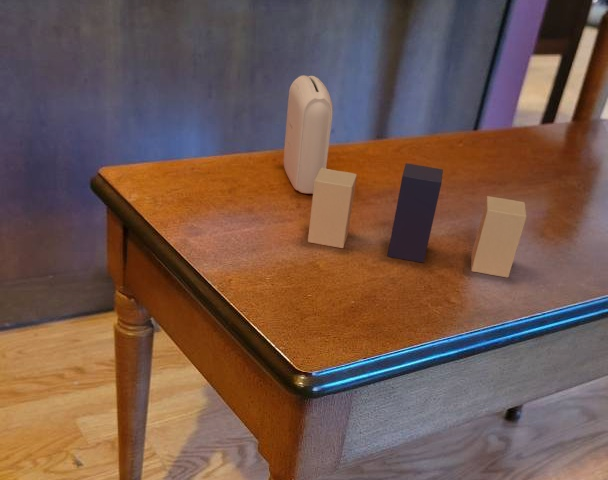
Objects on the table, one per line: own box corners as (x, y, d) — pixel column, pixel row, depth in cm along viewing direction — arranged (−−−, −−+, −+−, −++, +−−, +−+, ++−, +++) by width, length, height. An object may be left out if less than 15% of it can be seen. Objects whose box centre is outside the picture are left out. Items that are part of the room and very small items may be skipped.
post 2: (507, 261, 82) (524, 201, 78) (508, 278, 79) (526, 216, 75) (471, 255, 83) (487, 195, 79) (471, 271, 80) (487, 209, 75)
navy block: (425, 247, 83) (443, 169, 78) (423, 263, 80) (441, 182, 75) (390, 241, 84) (405, 162, 78) (387, 256, 80) (402, 175, 75)
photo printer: (279, 164, 99) (287, 66, 92) (310, 165, 100) (321, 68, 93) (293, 195, 91) (303, 90, 84) (326, 196, 92) (339, 92, 85)
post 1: (348, 234, 84) (357, 173, 80) (343, 248, 81) (352, 186, 77) (313, 227, 84) (320, 167, 80) (307, 242, 81) (314, 180, 77)
